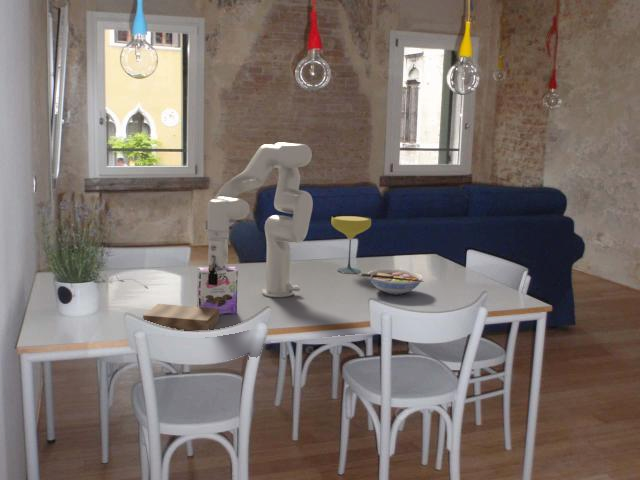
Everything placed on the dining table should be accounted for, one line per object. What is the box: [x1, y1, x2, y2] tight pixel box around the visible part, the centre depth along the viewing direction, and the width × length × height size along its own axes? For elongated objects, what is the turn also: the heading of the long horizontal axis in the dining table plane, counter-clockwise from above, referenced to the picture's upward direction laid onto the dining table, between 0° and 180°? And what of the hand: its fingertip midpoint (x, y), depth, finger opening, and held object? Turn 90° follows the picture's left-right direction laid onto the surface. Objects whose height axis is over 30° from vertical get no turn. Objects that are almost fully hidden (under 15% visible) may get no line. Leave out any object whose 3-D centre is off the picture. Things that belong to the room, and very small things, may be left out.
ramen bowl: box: [360, 268, 424, 296], centre depth 291 cm, size 25×23×8 cm
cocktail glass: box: [330, 213, 372, 274], centre depth 324 cm, size 18×18×25 cm
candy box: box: [196, 266, 239, 316], centre depth 254 cm, size 14×6×16 cm, turn 105°
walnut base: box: [142, 303, 220, 331], centre depth 242 cm, size 22×14×4 cm, turn 82°
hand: (216, 281), depth 253 cm, fingers open, 9 cm apart
